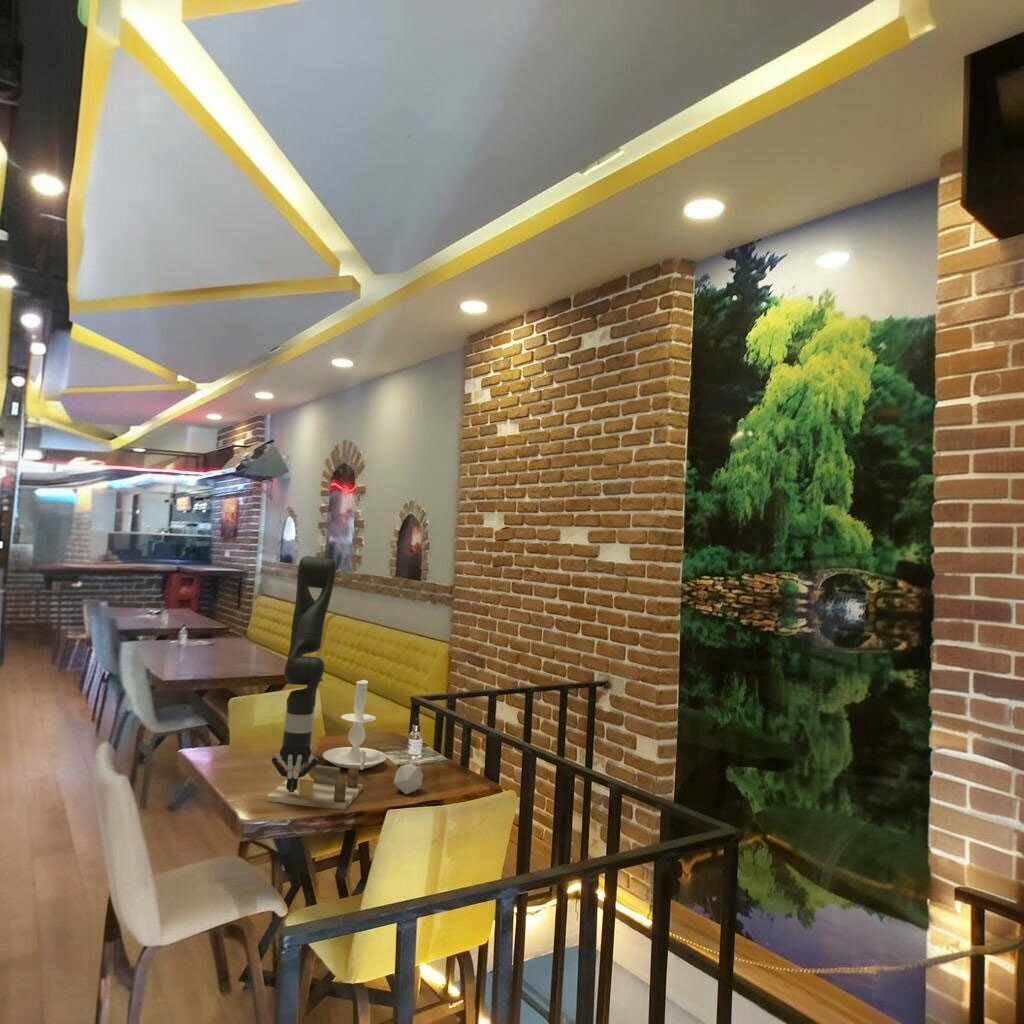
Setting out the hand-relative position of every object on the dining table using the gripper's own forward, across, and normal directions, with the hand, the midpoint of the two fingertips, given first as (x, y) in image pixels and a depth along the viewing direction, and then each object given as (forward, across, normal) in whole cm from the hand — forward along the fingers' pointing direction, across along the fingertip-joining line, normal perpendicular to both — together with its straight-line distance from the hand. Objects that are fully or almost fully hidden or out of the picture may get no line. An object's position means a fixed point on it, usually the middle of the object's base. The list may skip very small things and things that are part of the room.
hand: (291, 791), depth 210 cm
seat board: (+2, -7, -5) cm, 9 cm away
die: (+3, -33, -9) cm, 35 cm away
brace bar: (+1, -3, -6) cm, 6 cm away
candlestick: (+3, -19, -32) cm, 38 cm away
